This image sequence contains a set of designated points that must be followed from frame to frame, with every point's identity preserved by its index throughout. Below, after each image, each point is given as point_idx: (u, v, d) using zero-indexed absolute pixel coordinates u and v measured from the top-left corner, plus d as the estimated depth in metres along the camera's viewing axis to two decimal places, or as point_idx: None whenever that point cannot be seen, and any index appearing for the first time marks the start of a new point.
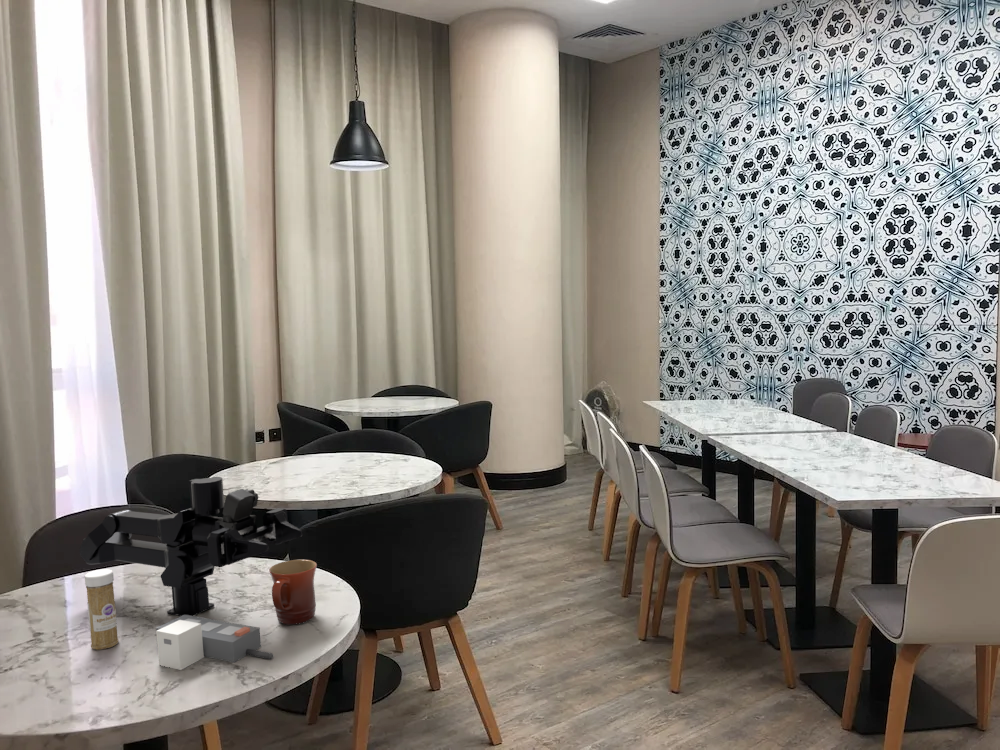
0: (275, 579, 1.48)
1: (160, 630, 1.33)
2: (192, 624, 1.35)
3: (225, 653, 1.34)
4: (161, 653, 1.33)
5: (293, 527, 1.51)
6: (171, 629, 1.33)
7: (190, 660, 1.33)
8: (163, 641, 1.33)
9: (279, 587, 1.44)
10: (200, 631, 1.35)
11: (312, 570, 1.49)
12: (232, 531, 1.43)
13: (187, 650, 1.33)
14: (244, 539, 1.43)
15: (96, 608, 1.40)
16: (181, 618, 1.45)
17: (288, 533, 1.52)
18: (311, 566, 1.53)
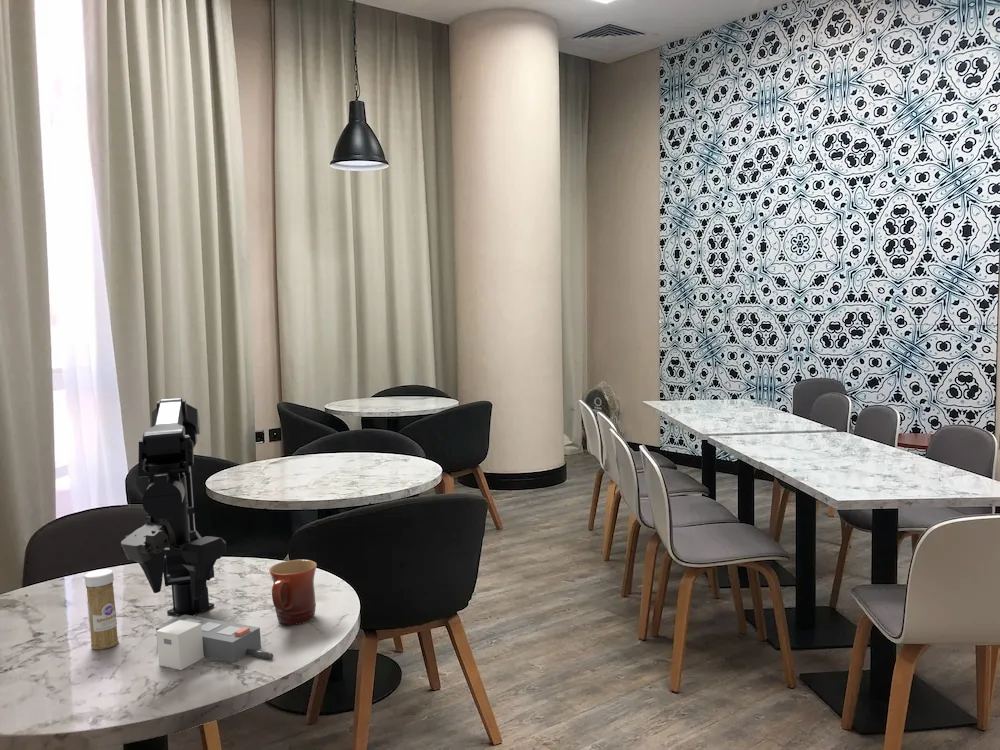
0: (275, 579, 1.48)
1: (160, 630, 1.33)
2: (192, 624, 1.35)
3: (225, 653, 1.34)
4: (161, 653, 1.33)
5: (192, 588, 1.31)
6: (171, 629, 1.33)
7: (190, 660, 1.33)
8: (163, 641, 1.33)
9: (279, 587, 1.44)
10: (200, 631, 1.35)
11: (312, 570, 1.49)
12: None
13: (187, 650, 1.33)
14: (145, 568, 1.35)
15: (96, 608, 1.40)
16: (181, 618, 1.45)
17: None
18: (311, 566, 1.53)
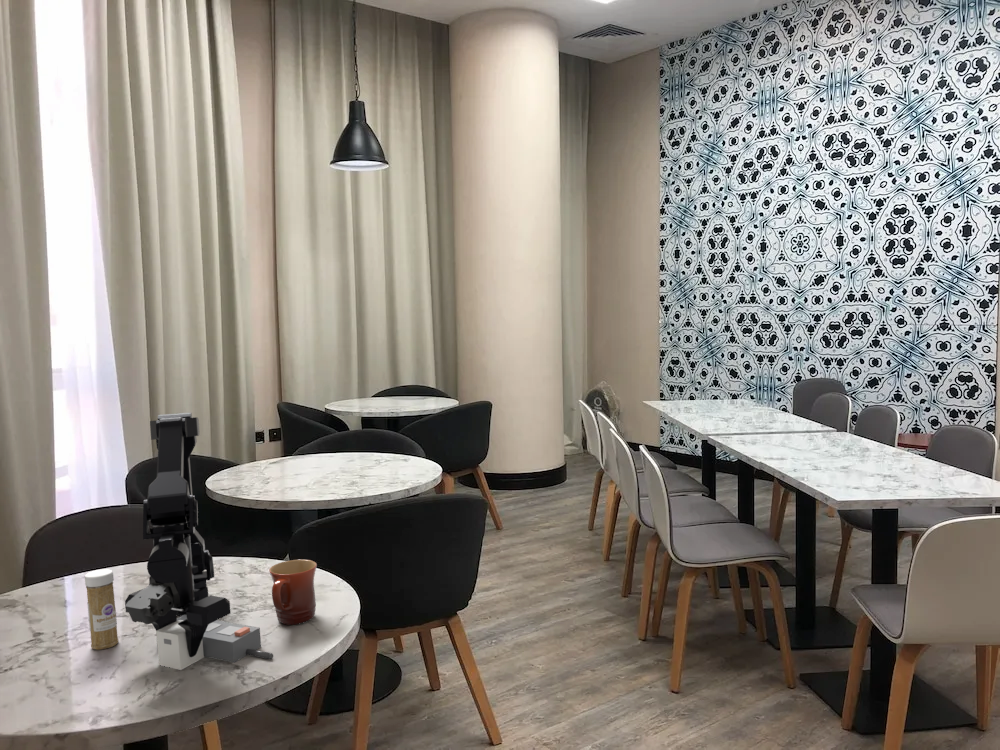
0: (275, 579, 1.47)
1: (160, 630, 1.33)
2: None
3: (225, 653, 1.34)
4: (161, 653, 1.33)
5: (188, 646, 1.33)
6: (171, 629, 1.33)
7: (190, 660, 1.33)
8: (163, 641, 1.33)
9: (279, 587, 1.44)
10: None
11: (312, 570, 1.49)
12: None
13: (187, 650, 1.33)
14: (157, 628, 1.35)
15: (96, 608, 1.40)
16: (181, 618, 1.45)
17: None
18: (311, 566, 1.53)
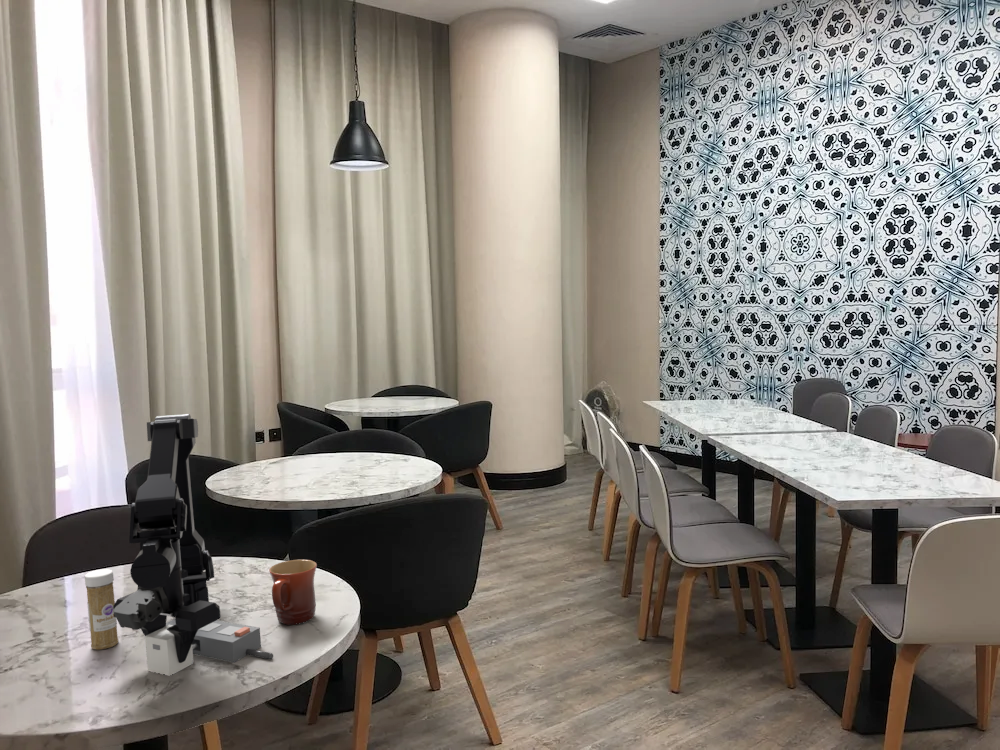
0: (275, 579, 1.48)
1: (149, 635, 1.31)
2: None
3: (225, 653, 1.34)
4: (150, 658, 1.31)
5: (177, 652, 1.30)
6: (160, 634, 1.31)
7: (179, 666, 1.31)
8: (152, 647, 1.31)
9: (279, 587, 1.44)
10: None
11: (312, 570, 1.49)
12: None
13: (176, 656, 1.31)
14: (146, 633, 1.33)
15: (96, 608, 1.40)
16: None
17: None
18: (311, 566, 1.53)
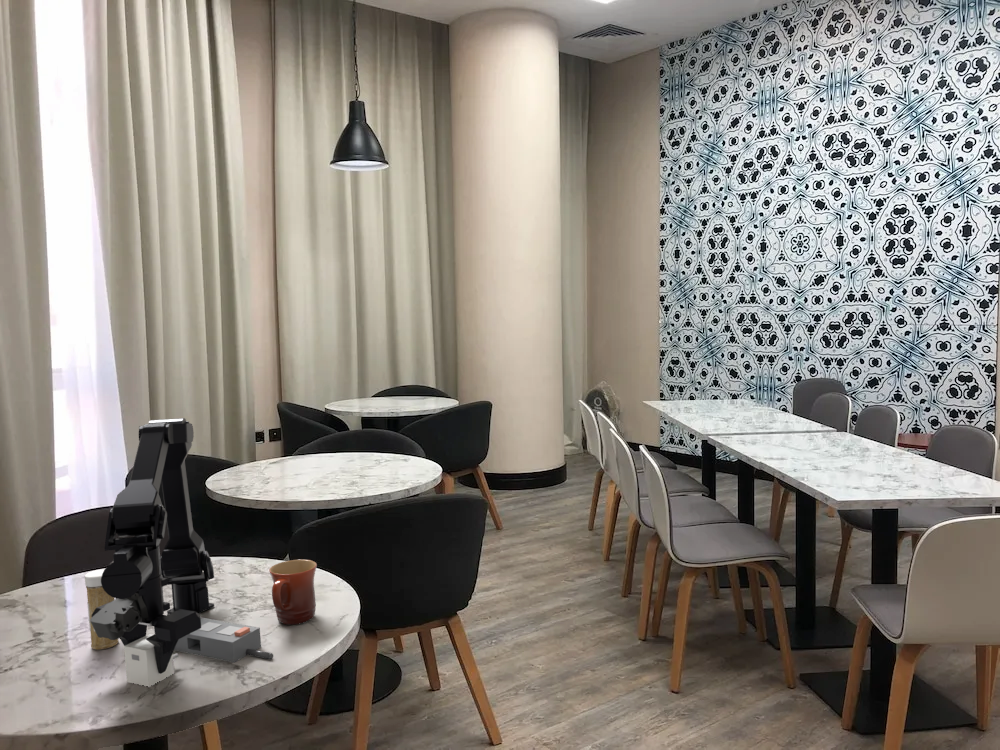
0: (275, 579, 1.47)
1: (128, 645, 1.28)
2: None
3: (225, 653, 1.34)
4: (129, 669, 1.27)
5: (157, 662, 1.27)
6: (140, 644, 1.28)
7: (159, 677, 1.28)
8: (131, 657, 1.27)
9: (279, 587, 1.44)
10: None
11: (312, 570, 1.49)
12: None
13: (156, 666, 1.27)
14: (125, 643, 1.29)
15: None
16: None
17: None
18: (311, 566, 1.53)
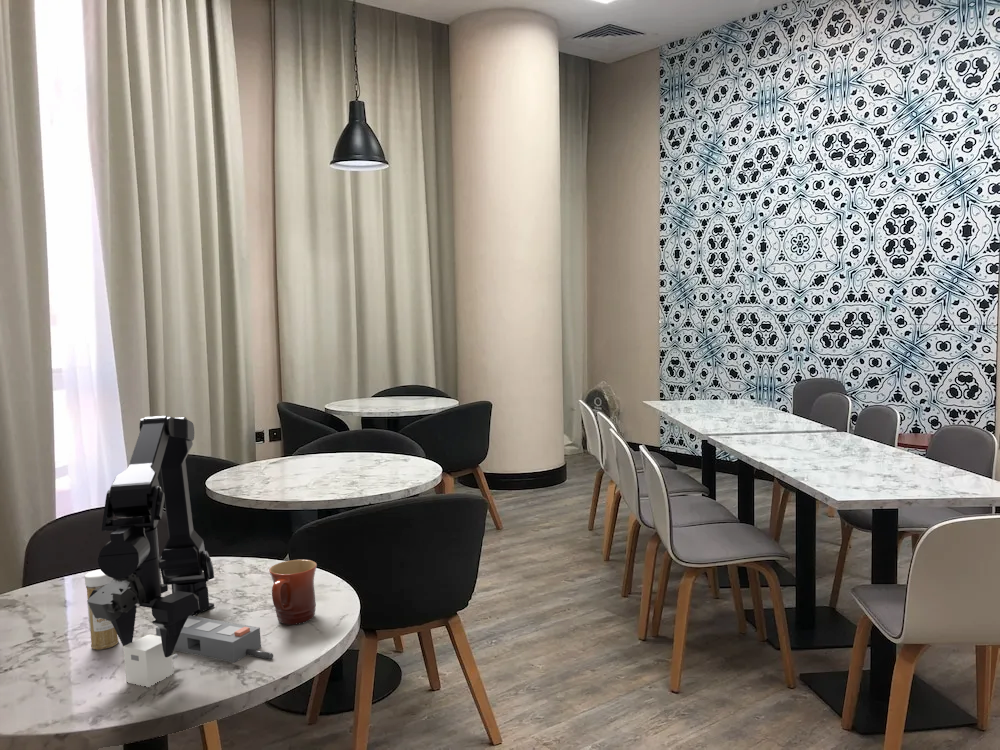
0: (275, 579, 1.48)
1: (127, 645, 1.27)
2: None
3: (225, 653, 1.34)
4: (129, 669, 1.27)
5: (163, 646, 1.25)
6: (139, 645, 1.28)
7: (159, 677, 1.28)
8: (130, 657, 1.27)
9: (279, 587, 1.44)
10: None
11: (312, 570, 1.49)
12: None
13: (155, 667, 1.27)
14: (115, 623, 1.29)
15: None
16: None
17: None
18: (311, 566, 1.53)
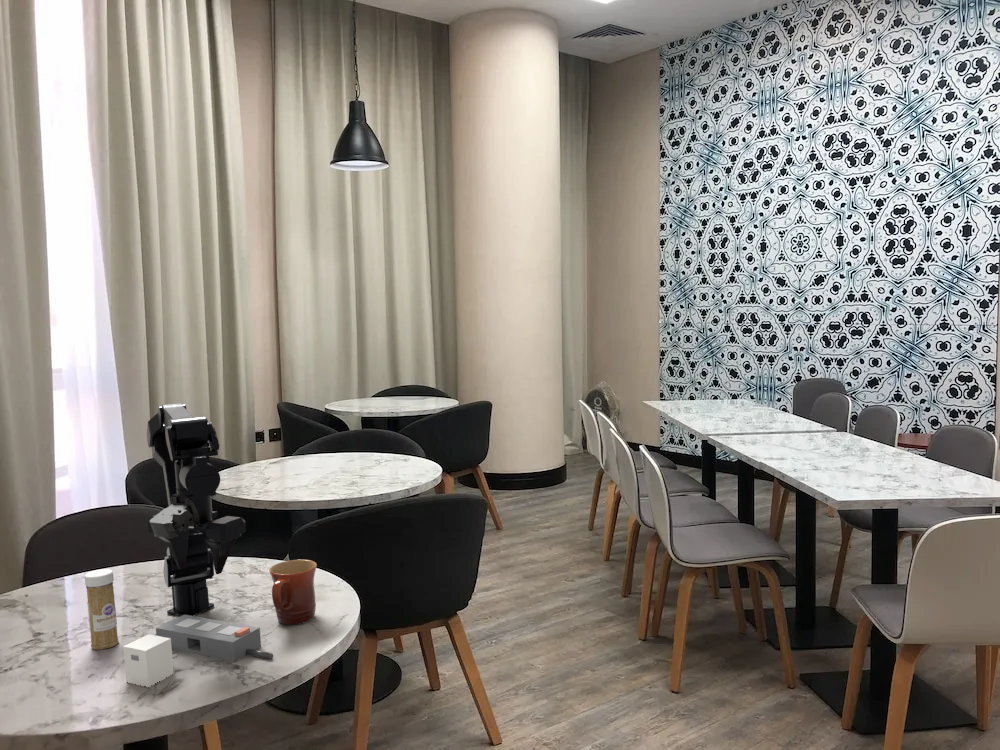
0: (275, 579, 1.47)
1: (127, 645, 1.27)
2: (161, 639, 1.29)
3: (225, 653, 1.34)
4: (129, 669, 1.27)
5: (215, 564, 1.42)
6: (139, 645, 1.28)
7: (159, 677, 1.28)
8: (130, 657, 1.27)
9: (279, 587, 1.44)
10: (170, 646, 1.30)
11: (312, 570, 1.49)
12: (160, 536, 1.45)
13: (155, 667, 1.27)
14: (170, 546, 1.46)
15: (96, 608, 1.40)
16: (181, 618, 1.45)
17: None
18: (311, 566, 1.53)
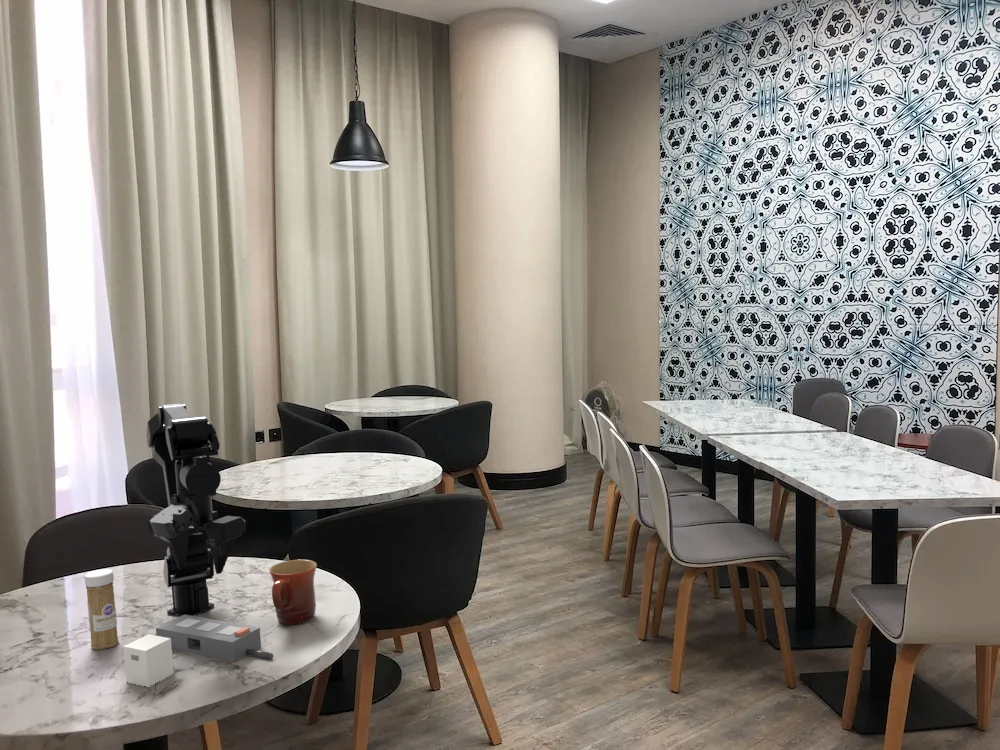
0: (275, 579, 1.47)
1: (127, 645, 1.27)
2: (161, 639, 1.29)
3: (225, 653, 1.34)
4: (129, 669, 1.27)
5: (215, 563, 1.42)
6: (139, 645, 1.28)
7: (159, 677, 1.28)
8: (130, 657, 1.27)
9: (279, 587, 1.44)
10: (170, 646, 1.30)
11: (312, 570, 1.49)
12: (160, 536, 1.45)
13: (155, 667, 1.27)
14: (170, 545, 1.46)
15: (96, 608, 1.40)
16: (181, 618, 1.45)
17: None
18: (311, 566, 1.53)
